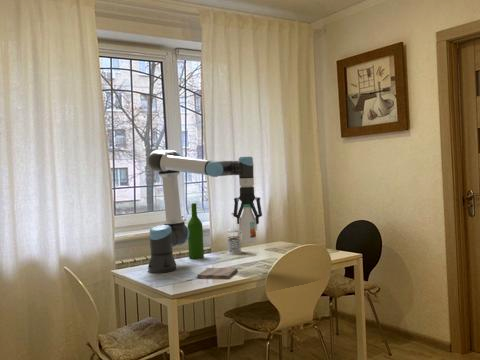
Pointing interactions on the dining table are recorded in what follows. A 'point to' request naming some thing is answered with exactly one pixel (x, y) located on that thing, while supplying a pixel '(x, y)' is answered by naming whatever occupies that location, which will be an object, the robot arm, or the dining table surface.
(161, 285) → the dining table surface
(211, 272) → the walnut board
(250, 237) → the milk bottle
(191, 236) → the wine bottle
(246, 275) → the dining table surface
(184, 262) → the dining table surface
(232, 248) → the french press
